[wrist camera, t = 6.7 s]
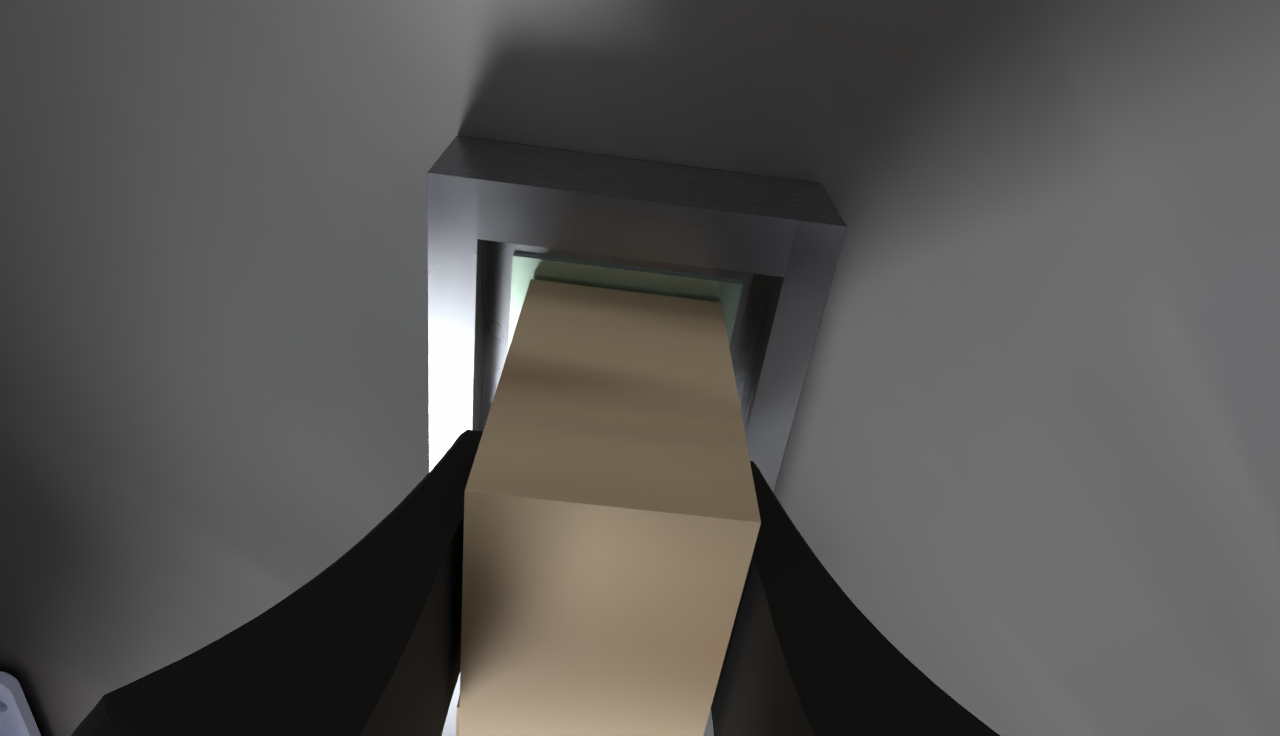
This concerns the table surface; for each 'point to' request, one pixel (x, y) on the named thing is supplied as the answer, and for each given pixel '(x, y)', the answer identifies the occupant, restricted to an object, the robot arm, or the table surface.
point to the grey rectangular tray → (621, 270)
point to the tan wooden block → (605, 520)
